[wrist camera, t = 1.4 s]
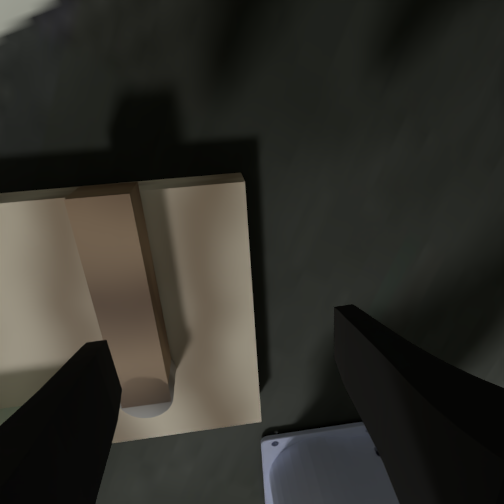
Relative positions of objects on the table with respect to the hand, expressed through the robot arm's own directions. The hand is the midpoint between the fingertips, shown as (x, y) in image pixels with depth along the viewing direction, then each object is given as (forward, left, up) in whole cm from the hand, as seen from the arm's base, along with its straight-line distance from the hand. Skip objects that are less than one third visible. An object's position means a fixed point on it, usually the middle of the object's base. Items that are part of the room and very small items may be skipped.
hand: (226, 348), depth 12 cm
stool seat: (+7, +4, -10) cm, 13 cm away
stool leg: (+4, +2, -7) cm, 9 cm away
